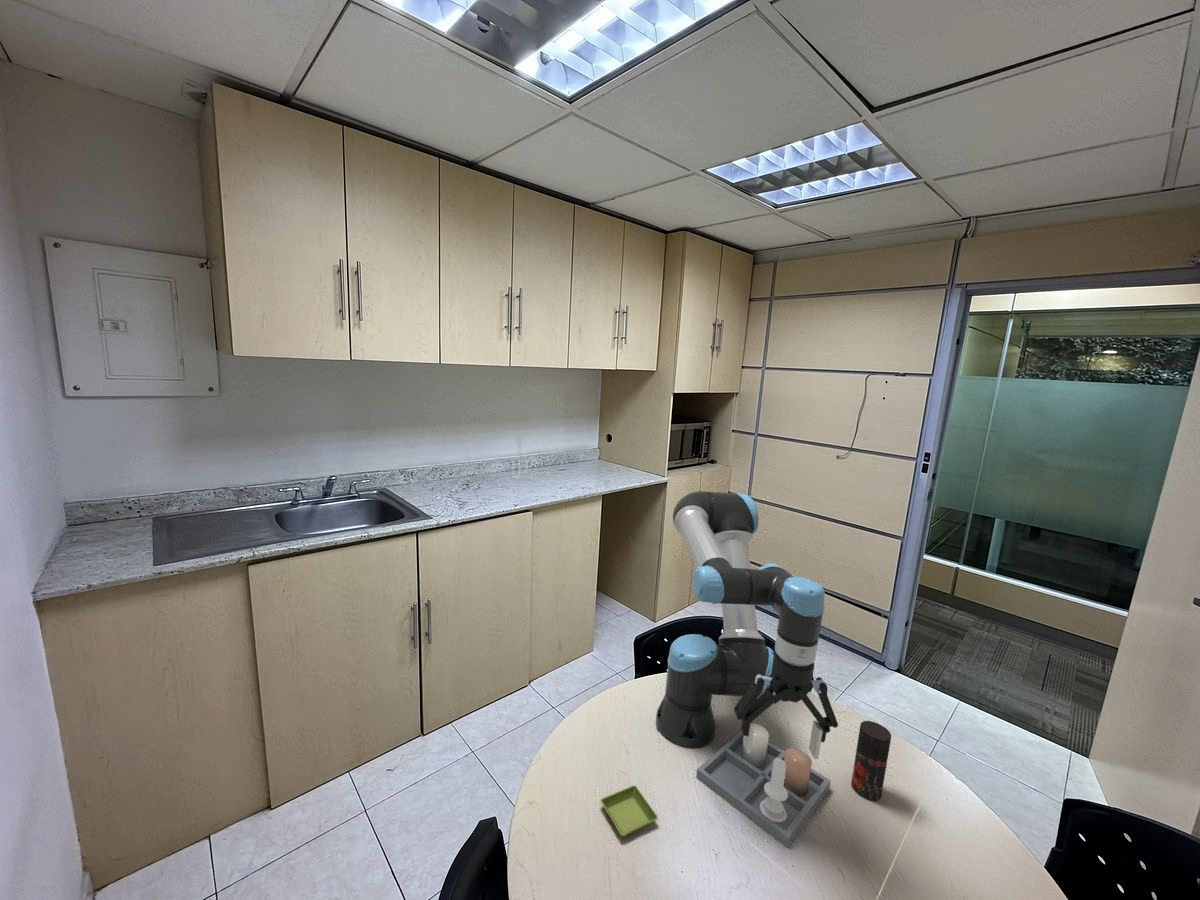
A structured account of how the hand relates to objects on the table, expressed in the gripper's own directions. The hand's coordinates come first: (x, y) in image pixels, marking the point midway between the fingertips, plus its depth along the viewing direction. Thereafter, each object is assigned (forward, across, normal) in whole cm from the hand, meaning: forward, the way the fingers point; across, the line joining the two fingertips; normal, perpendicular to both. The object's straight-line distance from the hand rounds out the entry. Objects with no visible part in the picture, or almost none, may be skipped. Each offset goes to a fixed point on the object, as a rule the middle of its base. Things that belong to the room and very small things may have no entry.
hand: (780, 751), depth 96 cm
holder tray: (+14, 0, +6) cm, 15 cm away
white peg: (+14, 0, -1) cm, 14 cm away
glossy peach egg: (+14, +7, +6) cm, 17 cm away
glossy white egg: (+14, 0, +13) cm, 19 cm away
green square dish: (+14, -30, -4) cm, 34 cm away
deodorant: (+14, +23, +7) cm, 28 cm away
